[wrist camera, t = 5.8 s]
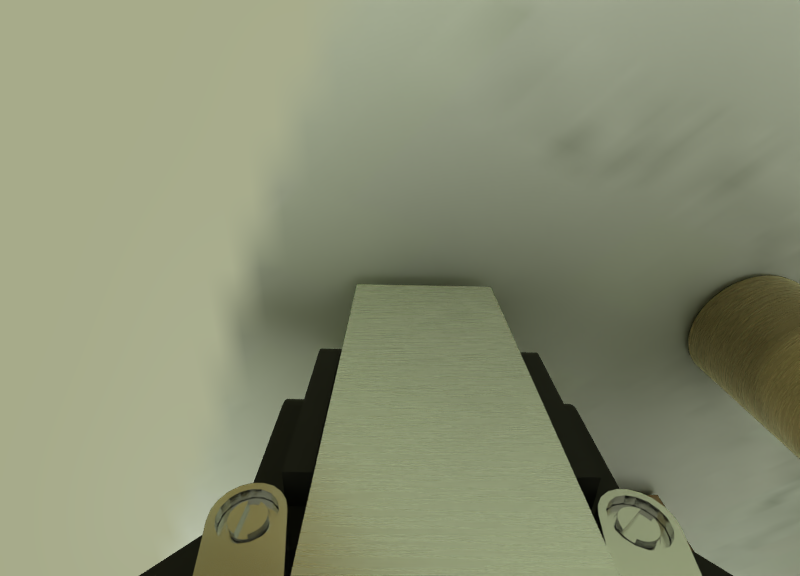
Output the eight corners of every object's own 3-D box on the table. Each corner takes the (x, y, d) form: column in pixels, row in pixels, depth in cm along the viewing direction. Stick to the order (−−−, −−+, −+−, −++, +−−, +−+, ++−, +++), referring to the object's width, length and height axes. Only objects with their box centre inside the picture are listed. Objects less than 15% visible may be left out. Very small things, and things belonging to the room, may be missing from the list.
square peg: (490, 286, 13) (694, 741, 4) (478, 394, 15) (601, 888, 6) (357, 284, 13) (254, 735, 4) (359, 392, 15) (291, 884, 6)
